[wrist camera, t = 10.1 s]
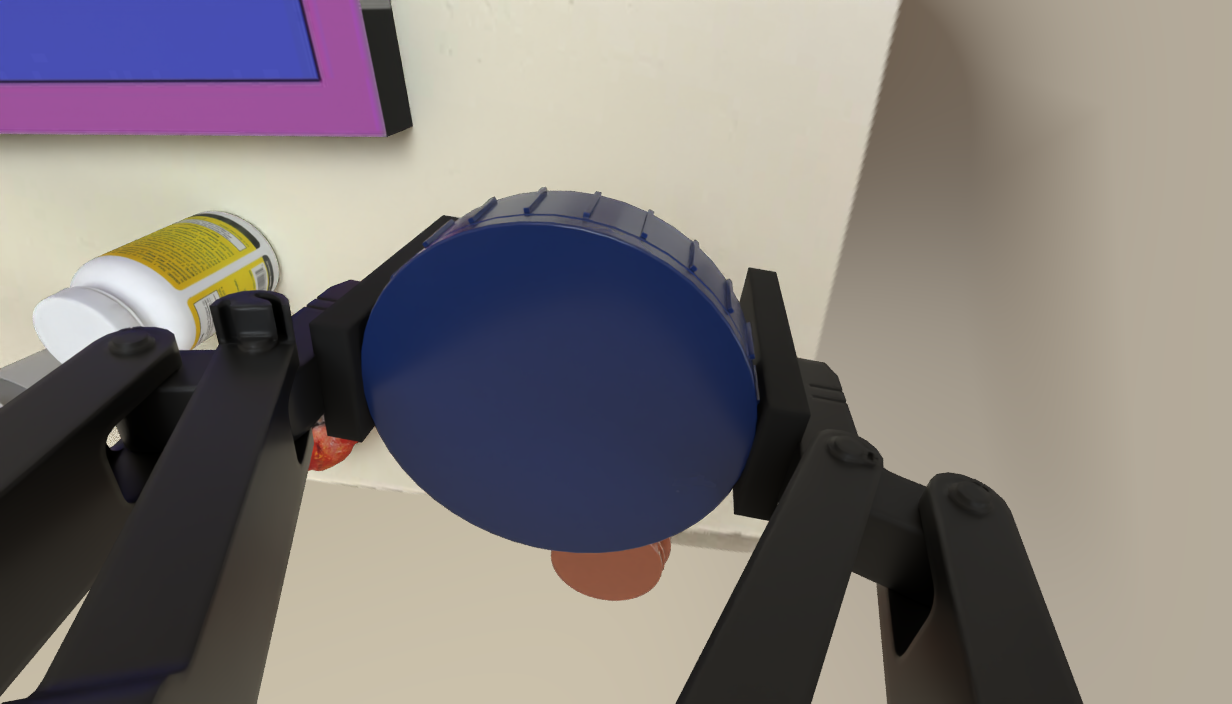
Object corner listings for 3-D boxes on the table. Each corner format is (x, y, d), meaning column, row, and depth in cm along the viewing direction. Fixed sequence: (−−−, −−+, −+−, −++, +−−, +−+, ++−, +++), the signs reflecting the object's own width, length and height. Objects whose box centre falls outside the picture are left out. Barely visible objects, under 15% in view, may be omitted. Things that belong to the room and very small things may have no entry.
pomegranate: (362, 422, 47) (409, 446, 39) (267, 476, 43) (298, 515, 35) (315, 338, 44) (355, 345, 36) (209, 387, 40) (229, 407, 32)
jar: (692, 433, 40) (689, 544, 32) (655, 504, 44) (644, 619, 36) (591, 398, 40) (562, 501, 32) (563, 473, 44) (530, 582, 35)
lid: (384, 437, 15) (346, 490, 14) (423, 127, 11) (374, 150, 9) (677, 533, 16) (673, 595, 14) (823, 268, 11) (841, 313, 10)
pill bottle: (168, 223, 37) (-15, 298, 28) (245, 196, 36) (78, 266, 26) (228, 309, 40) (80, 404, 31) (301, 288, 38) (169, 382, 29)
